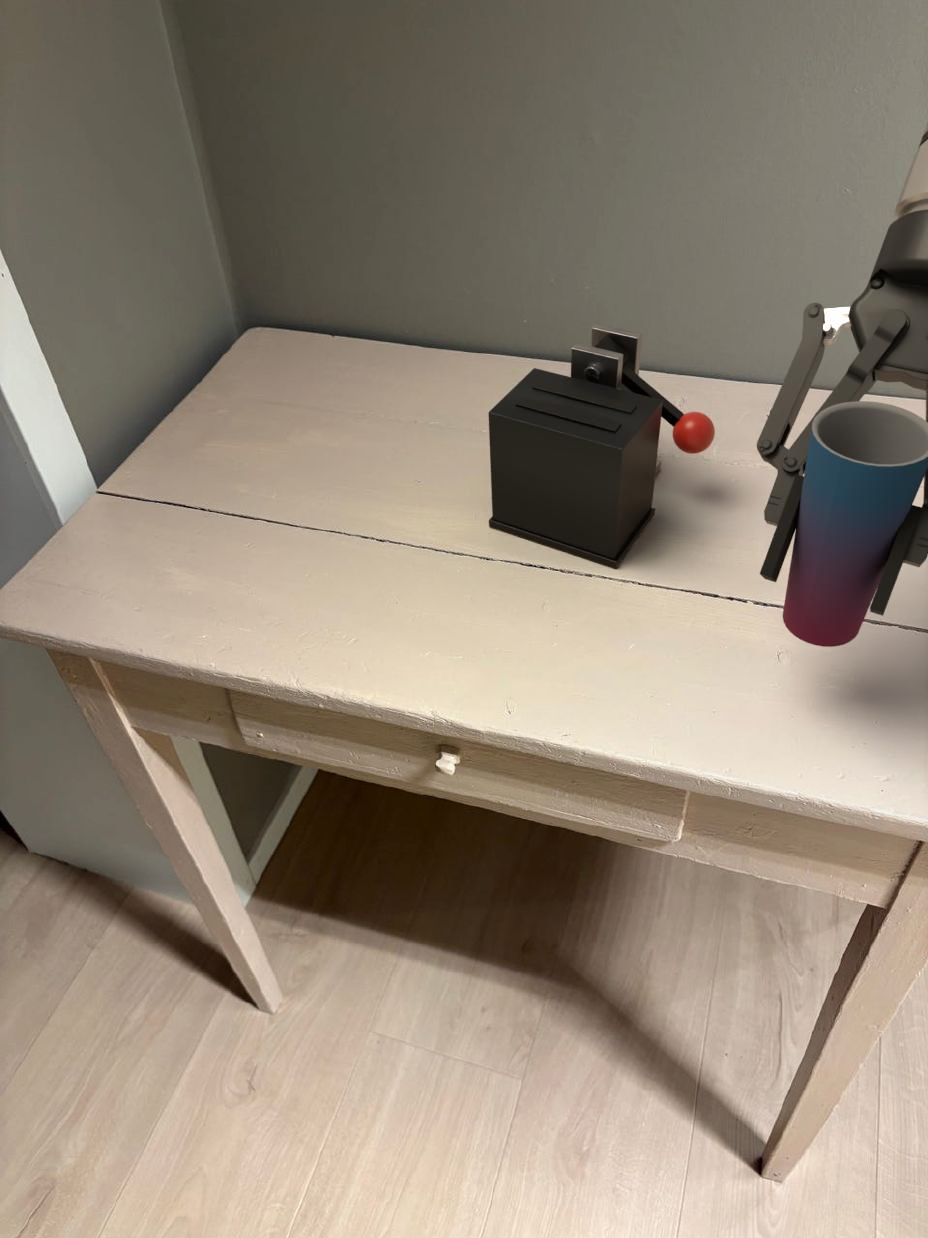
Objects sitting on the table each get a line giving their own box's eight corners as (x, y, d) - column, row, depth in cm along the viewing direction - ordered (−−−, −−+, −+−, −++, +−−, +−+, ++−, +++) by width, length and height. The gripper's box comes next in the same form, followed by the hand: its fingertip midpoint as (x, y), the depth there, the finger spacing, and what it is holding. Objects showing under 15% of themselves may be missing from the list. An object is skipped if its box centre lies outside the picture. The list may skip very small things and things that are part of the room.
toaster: (654, 515, 87) (667, 398, 79) (616, 569, 82) (625, 450, 74) (532, 478, 92) (532, 364, 84) (488, 526, 87) (483, 410, 79)
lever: (704, 447, 86) (728, 423, 84) (689, 468, 84) (714, 443, 81) (592, 353, 86) (613, 325, 84) (574, 372, 84) (595, 343, 81)
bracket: (660, 469, 92) (675, 337, 82) (635, 503, 88) (647, 369, 79) (567, 443, 96) (570, 314, 86) (539, 474, 92) (539, 343, 83)
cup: (803, 574, 69) (850, 388, 58) (892, 618, 65) (959, 428, 55) (749, 623, 65) (788, 435, 55) (840, 672, 62) (901, 481, 51)
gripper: (1119, 286, 57) (980, 649, 59) (803, 235, 65) (687, 557, 67) (1150, 229, 51) (992, 642, 52) (793, 180, 58) (664, 540, 60)
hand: (821, 594), depth 59 cm, fingers closed on cup, 6 cm apart
